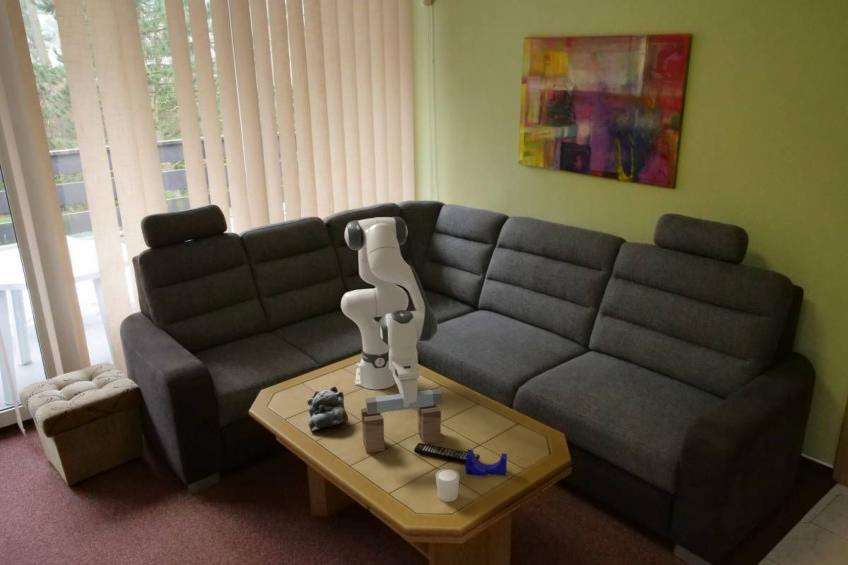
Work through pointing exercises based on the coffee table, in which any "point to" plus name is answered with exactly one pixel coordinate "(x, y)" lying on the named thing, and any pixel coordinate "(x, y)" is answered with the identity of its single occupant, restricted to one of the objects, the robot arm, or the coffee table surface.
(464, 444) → the coffee table surface
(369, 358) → the robot arm
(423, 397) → the bed rail
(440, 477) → the shot glass
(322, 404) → the lucky cat figurine
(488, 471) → the cable clip
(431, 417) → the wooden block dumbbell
